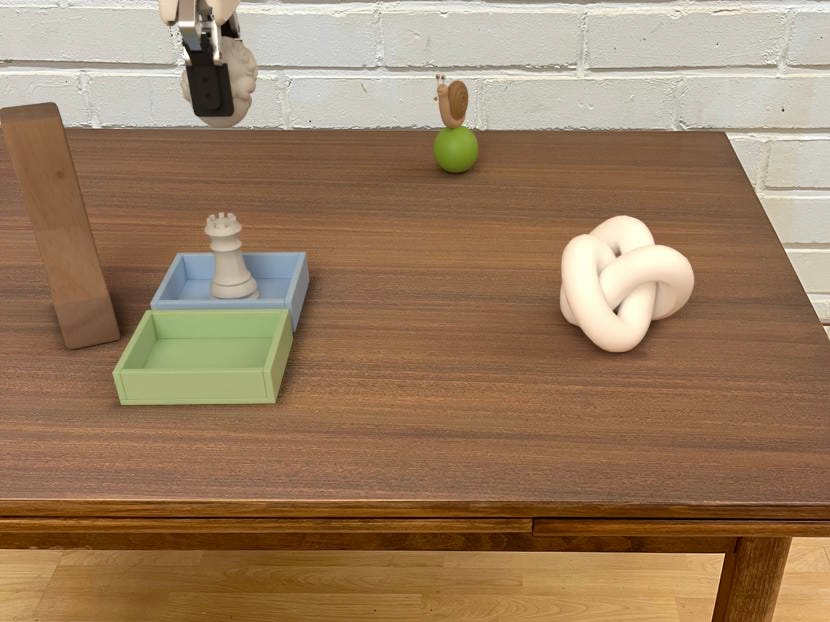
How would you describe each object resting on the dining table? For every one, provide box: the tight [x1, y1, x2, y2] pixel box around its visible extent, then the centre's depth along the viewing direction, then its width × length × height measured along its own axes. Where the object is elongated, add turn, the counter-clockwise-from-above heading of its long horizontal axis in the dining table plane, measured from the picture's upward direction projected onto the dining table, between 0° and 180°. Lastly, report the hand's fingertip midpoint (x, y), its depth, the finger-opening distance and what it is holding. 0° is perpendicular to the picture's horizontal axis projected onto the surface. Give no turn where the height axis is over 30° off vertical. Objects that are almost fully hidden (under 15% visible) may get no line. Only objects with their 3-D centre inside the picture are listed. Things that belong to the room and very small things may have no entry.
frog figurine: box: [179, 36, 259, 129], centre depth 80 cm, size 6×7×7 cm
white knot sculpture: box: [559, 214, 695, 353], centre depth 82 cm, size 11×12×9 cm
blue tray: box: [149, 251, 310, 333], centre depth 87 cm, size 12×10×3 cm
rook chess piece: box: [203, 212, 259, 300], centre depth 86 cm, size 4×4×8 cm
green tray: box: [111, 309, 294, 406], centre depth 78 cm, size 12×10×3 cm
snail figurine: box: [432, 73, 480, 174], centre depth 111 cm, size 5×6×12 cm
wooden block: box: [0, 101, 121, 350], centre depth 80 cm, size 9×4×18 cm, turn 24°
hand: (222, 100), depth 80 cm, fingers closed on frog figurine, 6 cm apart
